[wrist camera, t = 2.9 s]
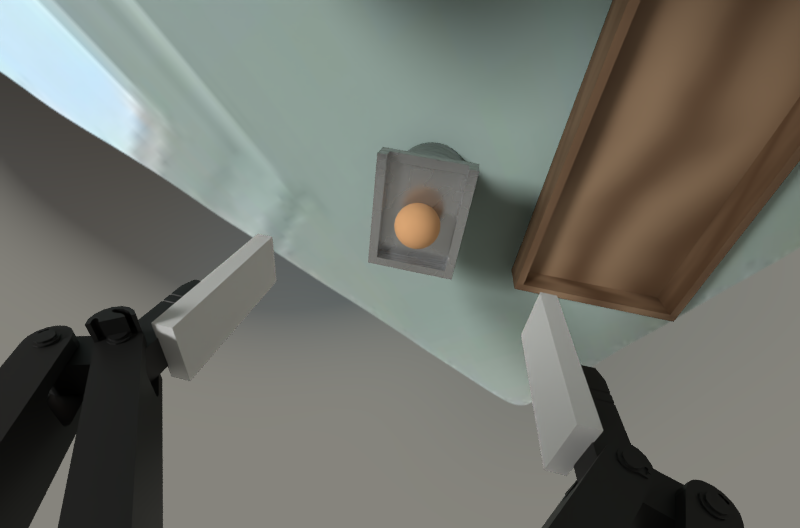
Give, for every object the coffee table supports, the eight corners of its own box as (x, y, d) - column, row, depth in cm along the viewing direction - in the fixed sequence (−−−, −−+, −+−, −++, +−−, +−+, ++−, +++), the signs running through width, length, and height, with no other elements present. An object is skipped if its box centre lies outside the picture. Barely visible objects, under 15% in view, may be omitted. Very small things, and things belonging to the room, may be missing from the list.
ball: (395, 230, 24) (388, 253, 22) (400, 191, 22) (393, 211, 20) (437, 237, 24) (434, 261, 21) (445, 199, 22) (443, 220, 20)
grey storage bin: (390, 215, 32) (366, 261, 25) (400, 126, 27) (375, 152, 20) (457, 228, 31) (452, 279, 24) (479, 139, 27) (481, 171, 20)
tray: (511, 270, 33) (514, 288, 30) (644, -85, 19) (670, -106, 16) (657, 299, 31) (673, 321, 29) (911, -56, 18) (982, -73, 15)
